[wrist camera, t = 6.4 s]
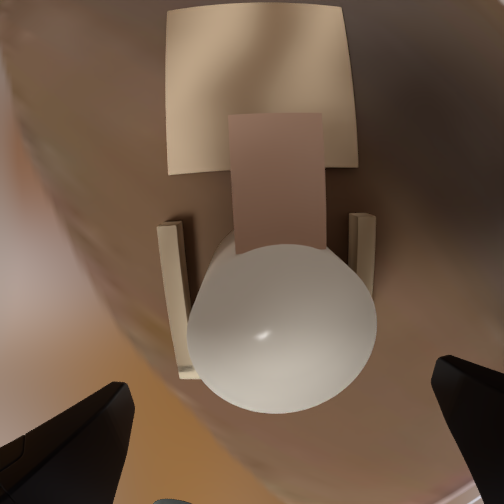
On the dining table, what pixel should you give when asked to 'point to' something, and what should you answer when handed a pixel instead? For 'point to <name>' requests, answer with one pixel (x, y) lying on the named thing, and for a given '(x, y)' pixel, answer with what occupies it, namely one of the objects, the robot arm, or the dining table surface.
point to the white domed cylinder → (279, 279)
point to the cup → (170, 501)
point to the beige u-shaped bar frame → (178, 287)
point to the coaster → (255, 77)
